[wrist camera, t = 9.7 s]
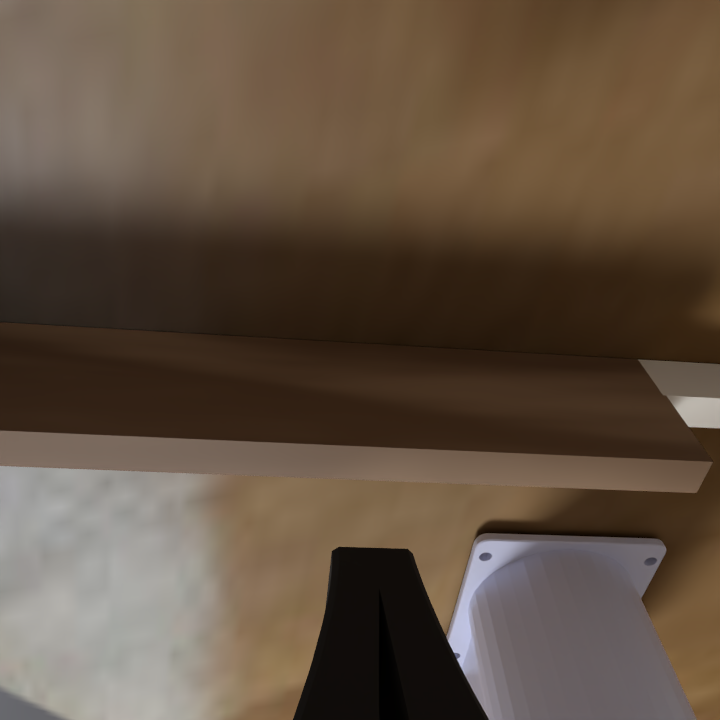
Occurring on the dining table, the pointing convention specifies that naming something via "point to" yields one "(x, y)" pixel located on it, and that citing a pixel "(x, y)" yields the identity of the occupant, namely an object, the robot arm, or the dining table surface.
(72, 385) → the open wooden tray
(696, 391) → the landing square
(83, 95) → the dining table surface
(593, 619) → the robot arm
